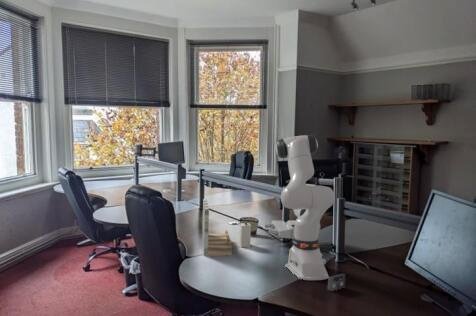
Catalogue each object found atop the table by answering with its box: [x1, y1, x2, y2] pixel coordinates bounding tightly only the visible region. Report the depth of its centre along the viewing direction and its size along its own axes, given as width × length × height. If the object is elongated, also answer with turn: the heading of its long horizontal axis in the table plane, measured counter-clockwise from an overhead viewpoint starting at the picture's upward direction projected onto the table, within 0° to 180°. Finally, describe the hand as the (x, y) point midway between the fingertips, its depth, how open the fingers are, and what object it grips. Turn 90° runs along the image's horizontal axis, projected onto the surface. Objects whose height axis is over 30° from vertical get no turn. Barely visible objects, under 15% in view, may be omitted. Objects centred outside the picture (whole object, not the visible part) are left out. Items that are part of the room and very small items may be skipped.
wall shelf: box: [202, 198, 233, 257], centre depth 197 cm, size 24×14×24 cm, turn 7°
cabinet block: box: [239, 221, 252, 248], centre depth 202 cm, size 5×5×14 cm
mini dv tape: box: [326, 273, 347, 292], centre depth 152 cm, size 8×2×6 cm, turn 118°
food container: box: [238, 216, 260, 237], centre depth 224 cm, size 12×6×10 cm, turn 74°
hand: (266, 228), depth 204 cm, fingers open, 8 cm apart
